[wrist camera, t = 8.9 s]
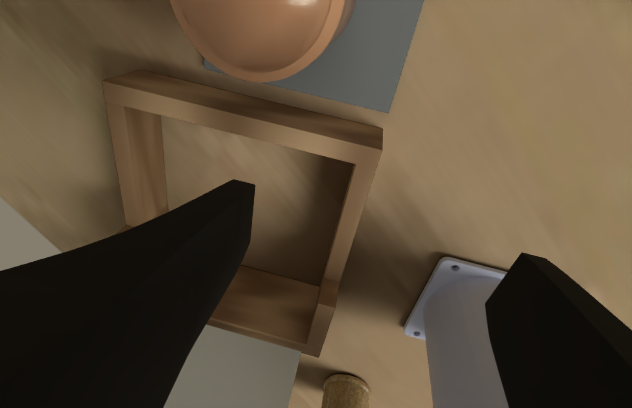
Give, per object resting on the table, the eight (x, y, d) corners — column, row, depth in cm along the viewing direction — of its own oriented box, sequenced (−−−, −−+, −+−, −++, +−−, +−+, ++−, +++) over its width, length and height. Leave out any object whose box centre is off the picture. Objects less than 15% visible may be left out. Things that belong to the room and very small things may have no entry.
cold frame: (383, 128, 18) (379, 262, 9) (325, 312, 26) (293, 475, 17) (140, 69, 19) (-94, 137, 10) (161, 267, 27) (49, 401, 18)
